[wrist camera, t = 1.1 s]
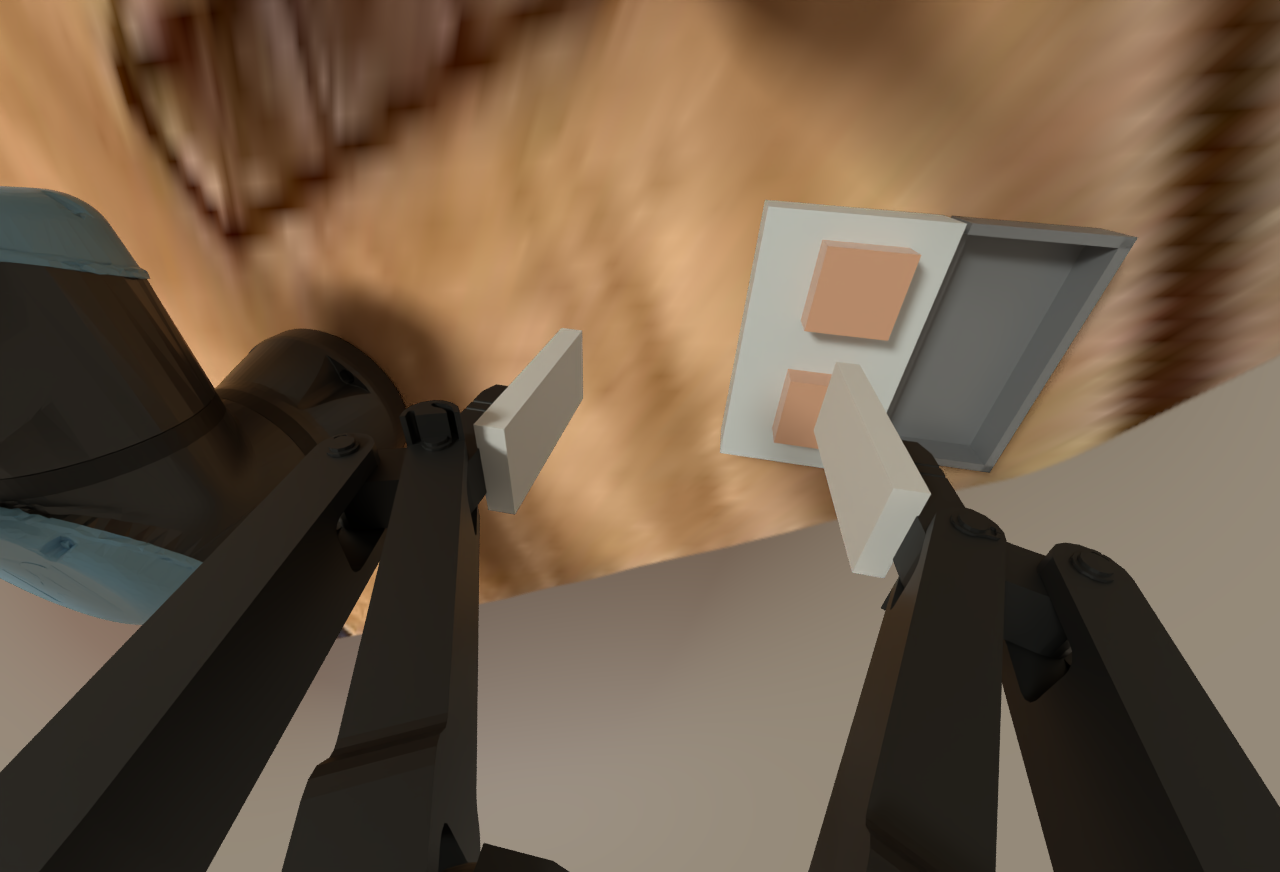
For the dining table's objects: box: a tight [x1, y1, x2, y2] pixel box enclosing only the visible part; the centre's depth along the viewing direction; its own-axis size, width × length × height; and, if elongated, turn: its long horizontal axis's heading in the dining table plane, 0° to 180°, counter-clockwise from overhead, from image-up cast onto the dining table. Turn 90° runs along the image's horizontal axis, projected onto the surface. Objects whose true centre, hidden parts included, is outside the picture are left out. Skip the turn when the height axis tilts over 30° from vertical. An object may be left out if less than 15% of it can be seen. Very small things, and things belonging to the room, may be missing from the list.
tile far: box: [772, 369, 832, 449], centre depth 32 cm, size 5×5×2 cm
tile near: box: [801, 240, 921, 341], centre depth 27 cm, size 5×5×2 cm
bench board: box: [720, 200, 967, 468], centre depth 32 cm, size 11×18×4 cm, turn 177°
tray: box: [887, 216, 1137, 473], centre depth 31 cm, size 8×16×3 cm, turn 177°
